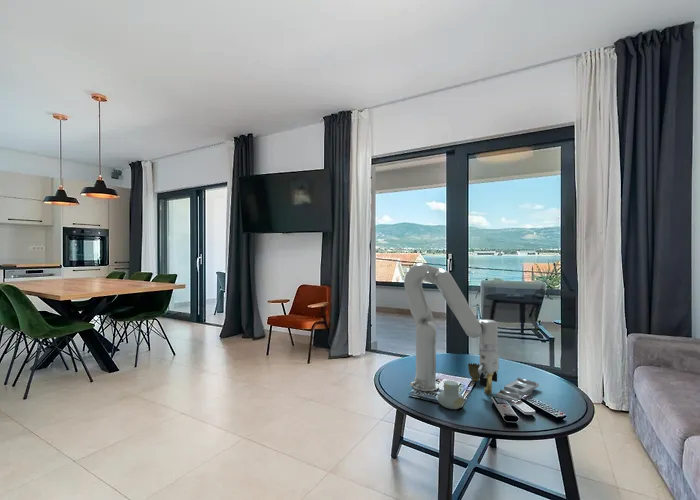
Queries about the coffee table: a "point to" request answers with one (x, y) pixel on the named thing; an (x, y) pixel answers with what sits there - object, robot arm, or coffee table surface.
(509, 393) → the plate with square hole
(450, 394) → the air freshener
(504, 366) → the coffee table surface
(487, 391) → the brass pin
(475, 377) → the cup
